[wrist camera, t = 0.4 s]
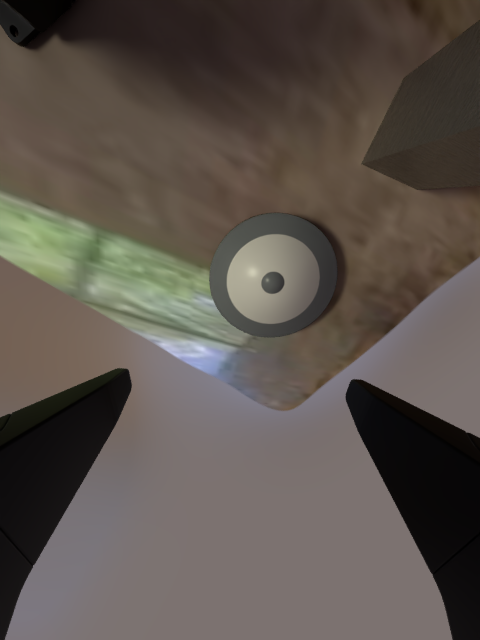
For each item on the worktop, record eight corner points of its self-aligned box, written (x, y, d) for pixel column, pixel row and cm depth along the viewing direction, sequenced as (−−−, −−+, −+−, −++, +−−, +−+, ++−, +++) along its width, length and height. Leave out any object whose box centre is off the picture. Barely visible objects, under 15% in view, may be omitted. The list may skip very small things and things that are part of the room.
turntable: (188, 251, 21) (184, 254, 19) (308, 185, 18) (312, 184, 17) (243, 346, 25) (244, 353, 24) (347, 303, 23) (352, 309, 21)
